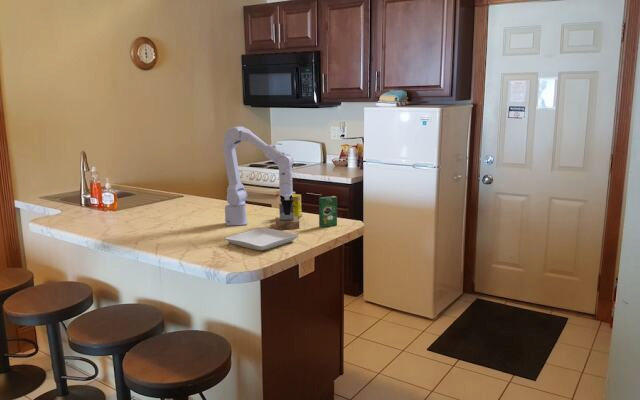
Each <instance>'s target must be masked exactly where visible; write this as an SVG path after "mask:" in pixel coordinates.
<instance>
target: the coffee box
mask: <svg viewBox="0 0 640 400" xmlns="http://www.w3.org/2000/svg"><path fill="white" fill-rule="evenodd" d="M318 225H319V228H327V227H335V226H338V196H335V195H332V196H321V197H318Z"/></svg>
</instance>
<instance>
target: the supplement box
mask: <svg viewBox="0 0 640 400" xmlns="http://www.w3.org/2000/svg"><path fill="white" fill-rule="evenodd" d="M291 199H293V202H292V203H293V216H294V217H297V216H298V219H299V220H300V218H302V217H303V216H302V214H303V213H302V194H298V193H297V194H296V193H295V194H293V195H292V198H291Z"/></svg>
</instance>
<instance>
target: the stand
mask: <svg viewBox="0 0 640 400" xmlns="http://www.w3.org/2000/svg"><path fill="white" fill-rule="evenodd" d="M275 228H276V229H275V230H292V229H293V230H295V229H300V218H299V219H298V216H297V217H294V220H290V221H280V216H278V217H277V216H276V217H275Z"/></svg>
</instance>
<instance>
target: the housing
mask: <svg viewBox="0 0 640 400" xmlns="http://www.w3.org/2000/svg"><path fill="white" fill-rule="evenodd" d="M278 209H279V210H278V211H279V213H278V214H279V217H280V221H290V220H294V216H293V203H292V205H291V211H290V215H285V214H284V209H283V205H282V203H281V202H280V203H278Z"/></svg>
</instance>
